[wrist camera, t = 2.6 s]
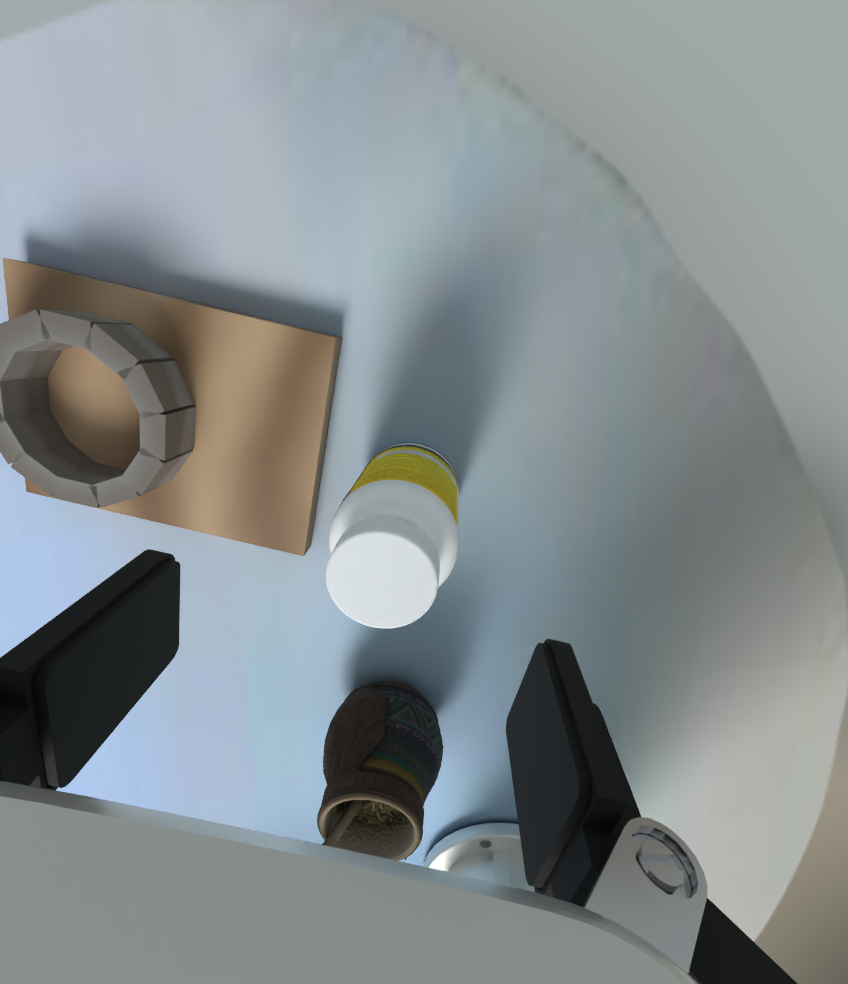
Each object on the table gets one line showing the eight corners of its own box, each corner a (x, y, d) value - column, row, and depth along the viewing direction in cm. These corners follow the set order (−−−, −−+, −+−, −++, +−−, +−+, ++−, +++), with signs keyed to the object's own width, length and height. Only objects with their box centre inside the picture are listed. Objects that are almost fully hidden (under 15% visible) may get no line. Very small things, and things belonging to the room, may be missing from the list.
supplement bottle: (358, 441, 24) (297, 508, 14) (459, 441, 23) (462, 510, 14) (364, 532, 25) (313, 643, 16) (458, 533, 25) (460, 648, 16)
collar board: (341, 337, 22) (320, 338, 18) (310, 546, 26) (288, 579, 22) (26, 262, 22) (-56, 247, 18) (45, 484, 26) (-19, 508, 22)
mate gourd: (466, 720, 30) (469, 900, 20) (379, 761, 32) (345, 941, 22) (403, 648, 28) (375, 808, 19) (315, 695, 30) (250, 861, 21)
